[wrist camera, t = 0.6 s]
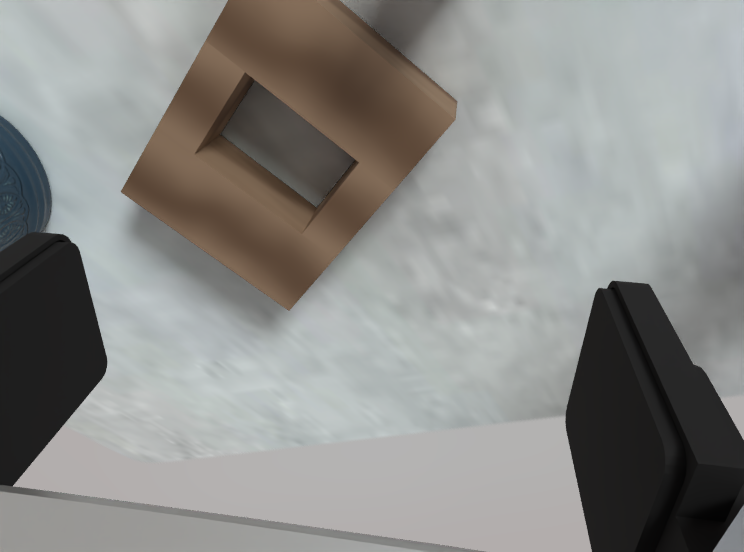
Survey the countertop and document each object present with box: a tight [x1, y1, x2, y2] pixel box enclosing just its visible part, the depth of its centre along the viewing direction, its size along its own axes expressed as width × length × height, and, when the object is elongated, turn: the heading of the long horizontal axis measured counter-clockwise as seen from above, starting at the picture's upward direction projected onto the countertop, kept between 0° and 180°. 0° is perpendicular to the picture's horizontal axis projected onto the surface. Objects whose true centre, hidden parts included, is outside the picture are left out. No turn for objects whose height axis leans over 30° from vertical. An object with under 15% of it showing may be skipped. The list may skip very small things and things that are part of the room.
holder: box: [121, 0, 457, 310], centre depth 39 cm, size 18×14×4 cm
